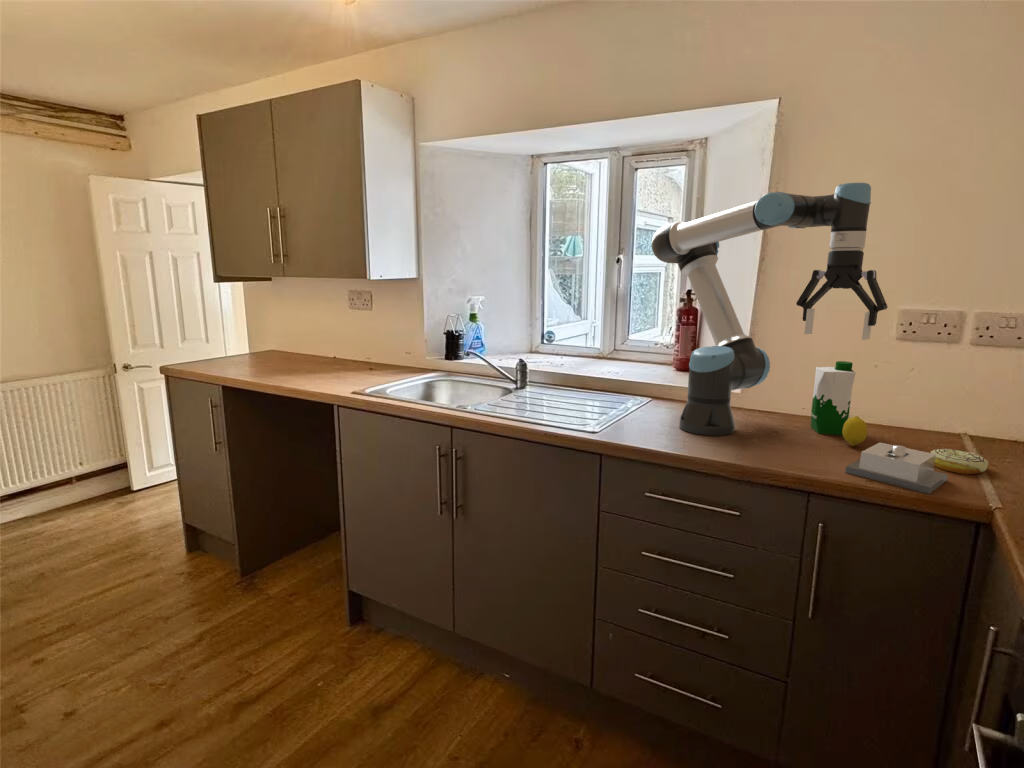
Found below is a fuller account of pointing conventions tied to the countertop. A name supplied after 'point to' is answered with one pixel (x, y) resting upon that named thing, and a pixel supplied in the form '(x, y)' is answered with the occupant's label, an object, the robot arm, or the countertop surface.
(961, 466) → the decorated donut
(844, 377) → the milk carton
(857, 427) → the lemon
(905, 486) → the fixture
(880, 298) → the robot arm
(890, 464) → the white boxy piece
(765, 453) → the countertop surface
